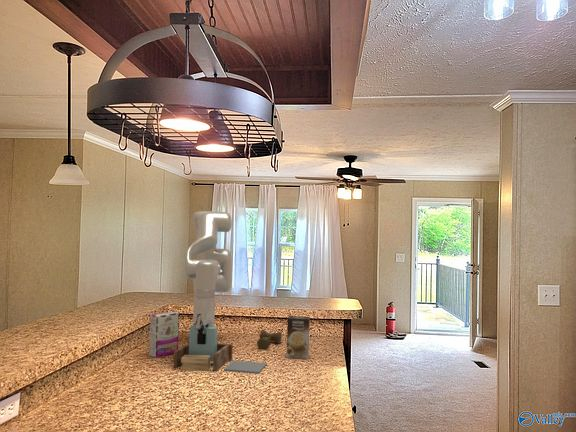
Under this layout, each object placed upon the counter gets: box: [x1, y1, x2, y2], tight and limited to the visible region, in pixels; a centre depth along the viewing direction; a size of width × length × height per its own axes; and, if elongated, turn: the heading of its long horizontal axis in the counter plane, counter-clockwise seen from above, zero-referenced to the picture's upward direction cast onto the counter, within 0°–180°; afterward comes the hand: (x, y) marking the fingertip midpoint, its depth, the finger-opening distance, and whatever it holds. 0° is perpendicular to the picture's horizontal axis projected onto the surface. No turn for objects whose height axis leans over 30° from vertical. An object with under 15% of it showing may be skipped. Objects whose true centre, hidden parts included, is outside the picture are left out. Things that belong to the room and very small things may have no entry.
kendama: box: [256, 329, 283, 350], centre depth 208 cm, size 6×10×20 cm
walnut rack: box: [173, 341, 233, 372], centre depth 173 cm, size 16×18×6 cm
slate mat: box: [223, 360, 268, 375], centre depth 170 cm, size 12×13×1 cm
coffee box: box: [285, 315, 311, 360], centre depth 188 cm, size 9×6×16 cm
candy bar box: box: [148, 311, 180, 359], centre depth 186 cm, size 11×5×16 cm, turn 143°
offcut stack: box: [180, 355, 212, 372], centre depth 167 cm, size 5×10×4 cm, turn 90°
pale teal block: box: [188, 325, 219, 362], centre depth 173 cm, size 3×10×12 cm, turn 80°
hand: (203, 342), depth 173 cm, fingers closed on pale teal block, 3 cm apart
